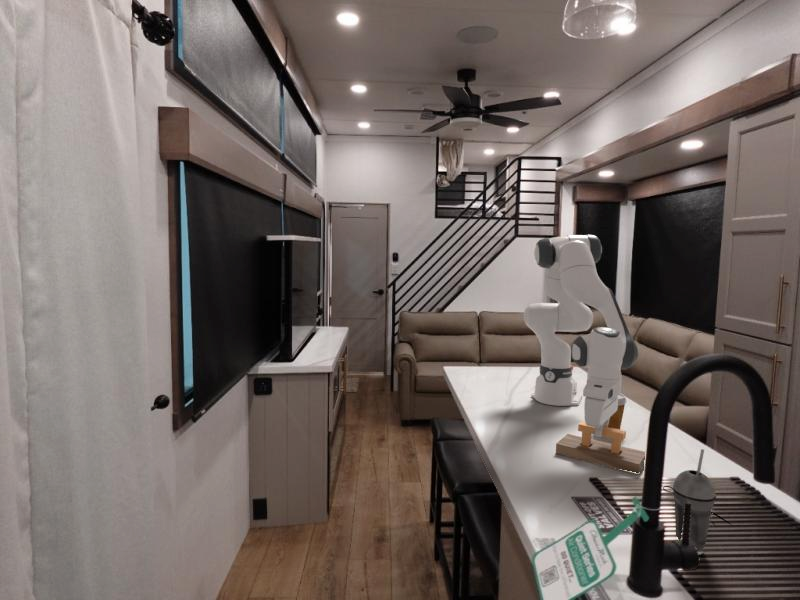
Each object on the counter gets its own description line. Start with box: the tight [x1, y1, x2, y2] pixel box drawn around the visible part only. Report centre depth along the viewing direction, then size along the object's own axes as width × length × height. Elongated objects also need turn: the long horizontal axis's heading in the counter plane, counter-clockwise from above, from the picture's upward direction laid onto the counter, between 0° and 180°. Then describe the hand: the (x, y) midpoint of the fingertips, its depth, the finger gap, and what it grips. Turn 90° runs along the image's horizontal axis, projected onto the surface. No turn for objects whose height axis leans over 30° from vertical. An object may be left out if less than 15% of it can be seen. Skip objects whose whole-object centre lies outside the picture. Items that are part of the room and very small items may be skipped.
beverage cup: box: [671, 448, 717, 551], centre depth 93 cm, size 7×7×20 cm
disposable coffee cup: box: [608, 393, 628, 430], centre depth 159 cm, size 10×10×12 cm
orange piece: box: [577, 421, 627, 454], centre depth 136 cm, size 3×12×6 cm, turn 52°
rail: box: [555, 433, 646, 473], centre depth 137 cm, size 10×22×3 cm, turn 52°
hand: (601, 434), depth 136 cm, fingers closed on orange piece, 3 cm apart
